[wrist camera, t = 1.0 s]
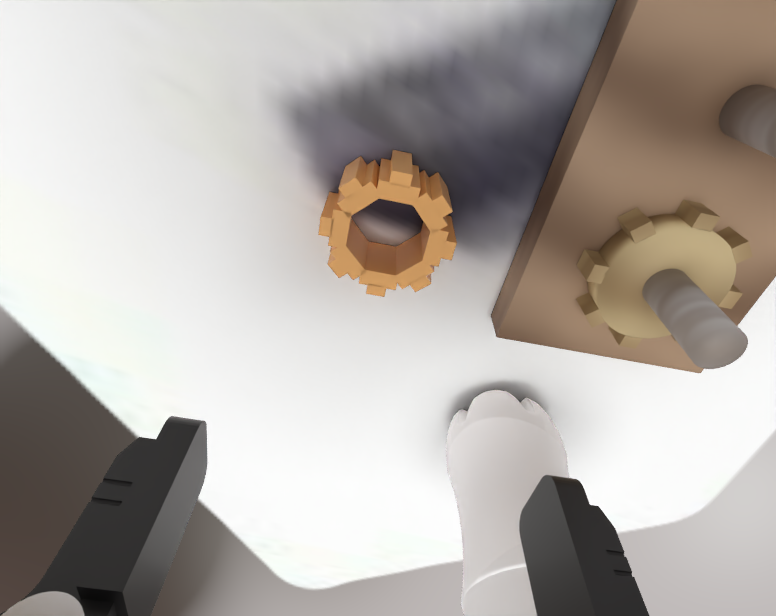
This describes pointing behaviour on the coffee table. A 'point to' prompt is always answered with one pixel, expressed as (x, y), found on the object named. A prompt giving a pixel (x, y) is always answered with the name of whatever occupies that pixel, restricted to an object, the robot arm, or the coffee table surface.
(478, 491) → the water bottle
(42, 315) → the coffee table surface
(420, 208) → the gear
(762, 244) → the gear board
